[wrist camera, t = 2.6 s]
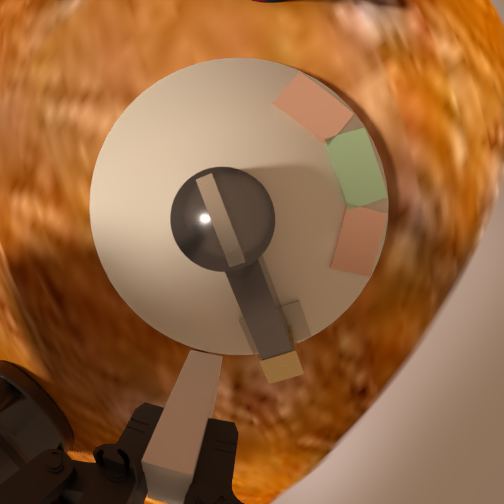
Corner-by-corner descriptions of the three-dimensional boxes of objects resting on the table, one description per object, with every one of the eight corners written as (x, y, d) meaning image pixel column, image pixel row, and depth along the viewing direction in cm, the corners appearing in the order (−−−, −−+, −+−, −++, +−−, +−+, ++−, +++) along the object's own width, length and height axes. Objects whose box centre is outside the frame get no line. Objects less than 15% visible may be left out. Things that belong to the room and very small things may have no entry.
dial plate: (166, 368, 22) (160, 380, 21) (70, 140, 18) (58, 138, 17) (405, 292, 20) (415, 300, 18) (318, 35, 16) (323, 24, 14)
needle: (178, 188, 17) (153, 190, 13) (255, 158, 17) (253, 150, 13) (249, 358, 20) (245, 397, 16) (318, 337, 19) (329, 373, 15)
